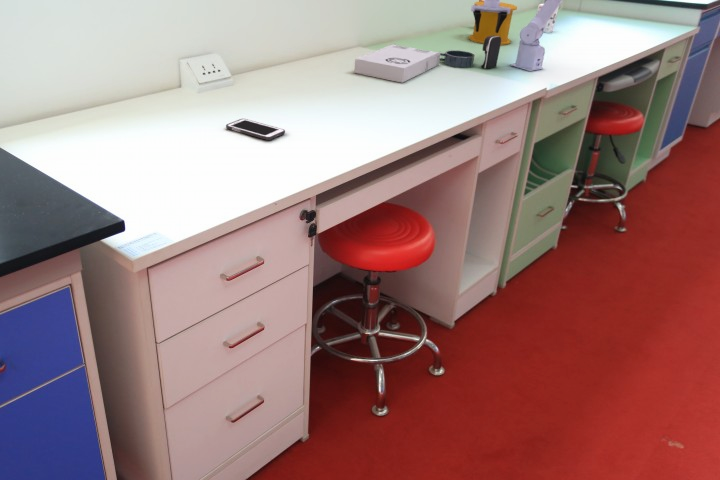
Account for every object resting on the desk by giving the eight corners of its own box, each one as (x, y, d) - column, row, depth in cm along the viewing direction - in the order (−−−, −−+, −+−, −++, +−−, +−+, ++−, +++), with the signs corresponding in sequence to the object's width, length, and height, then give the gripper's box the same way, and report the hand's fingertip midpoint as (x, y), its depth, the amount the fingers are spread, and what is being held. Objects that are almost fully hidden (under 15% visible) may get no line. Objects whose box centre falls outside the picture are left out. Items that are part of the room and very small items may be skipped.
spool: (513, 39, 302) (520, 4, 294) (505, 47, 288) (512, 10, 280) (474, 34, 308) (480, -1, 300) (464, 41, 294) (470, 4, 286)
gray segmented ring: (473, 62, 261) (475, 52, 259) (472, 69, 252) (474, 58, 250) (437, 58, 263) (439, 48, 261) (435, 65, 254) (436, 54, 252)
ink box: (532, 30, 324) (537, 4, 318) (537, 28, 328) (542, 3, 322) (548, 33, 320) (554, 7, 314) (553, 32, 323) (559, 6, 317)
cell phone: (268, 141, 174) (268, 137, 173) (224, 128, 180) (224, 124, 180) (286, 133, 179) (286, 130, 179) (242, 121, 186) (242, 118, 185)
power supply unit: (439, 65, 254) (440, 51, 252) (402, 83, 229) (404, 68, 227) (393, 56, 262) (395, 43, 259) (353, 73, 237) (354, 58, 235)
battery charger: (488, 64, 259) (494, 34, 253) (496, 67, 256) (502, 36, 251) (477, 67, 254) (483, 36, 248) (486, 69, 252) (492, 38, 246)
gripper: (475, -6, 250) (469, 32, 257) (514, -3, 251) (507, 35, 257) (472, -9, 257) (466, 29, 263) (510, -6, 257) (503, 31, 264)
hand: (486, 31), depth 261 cm, fingers open, 7 cm apart
